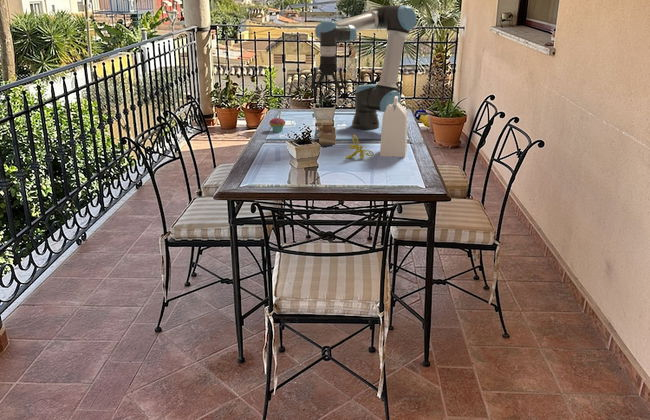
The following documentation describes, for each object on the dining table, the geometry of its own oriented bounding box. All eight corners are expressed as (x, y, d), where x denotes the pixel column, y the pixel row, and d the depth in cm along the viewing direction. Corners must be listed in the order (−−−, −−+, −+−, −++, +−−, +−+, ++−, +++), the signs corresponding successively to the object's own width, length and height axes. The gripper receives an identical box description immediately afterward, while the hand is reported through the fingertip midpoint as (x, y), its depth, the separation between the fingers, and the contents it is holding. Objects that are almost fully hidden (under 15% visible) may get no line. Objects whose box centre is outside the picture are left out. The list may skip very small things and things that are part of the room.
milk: (404, 157, 262) (408, 99, 253) (379, 155, 264) (382, 98, 255) (406, 150, 273) (410, 95, 264) (382, 149, 275) (384, 94, 266)
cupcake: (286, 129, 313) (286, 107, 308) (284, 133, 305) (283, 110, 301) (271, 129, 313) (270, 107, 309) (268, 132, 306) (267, 110, 301)
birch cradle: (319, 136, 299) (319, 126, 297) (335, 136, 299) (335, 126, 297) (319, 144, 283) (319, 134, 281) (335, 144, 283) (335, 134, 281)
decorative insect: (359, 168, 262) (374, 153, 258) (358, 170, 260) (373, 155, 255) (339, 148, 262) (354, 133, 257) (337, 150, 259) (352, 135, 255)
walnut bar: (323, 129, 295) (323, 121, 294) (331, 129, 295) (332, 121, 294) (322, 132, 285) (322, 124, 284) (331, 132, 285) (332, 124, 284)
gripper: (304, 56, 269) (305, 104, 277) (350, 56, 269) (349, 104, 277) (305, 54, 276) (305, 101, 284) (350, 54, 276) (349, 101, 284)
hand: (327, 103), depth 281 cm, fingers open, 9 cm apart
